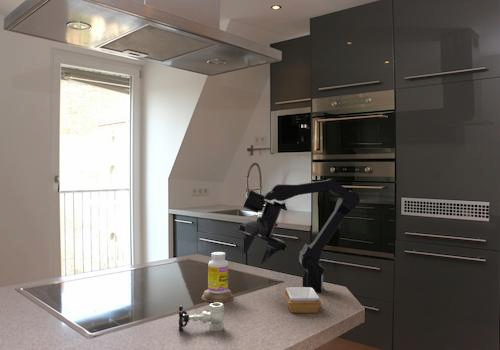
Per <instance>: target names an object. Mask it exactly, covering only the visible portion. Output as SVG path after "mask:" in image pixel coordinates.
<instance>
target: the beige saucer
mask: <svg viewBox="0 0 500 350" xmlns="http://www.w3.org/2000/svg"><path fill="white" fill-rule="evenodd" d="M233 299H234V294H233V293H232V290H231V289H229V288H228V291H227V292H226V293H223V294H212V293H210V292H209V291H208V288H207V289H206V290H204V291H203V294H202V296H201V300H203V301H204V302H206V303H211V302H214V303H216V302H218V303H221V302H222V303H227V301H228V302H230V301H232V300H233Z"/></svg>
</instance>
